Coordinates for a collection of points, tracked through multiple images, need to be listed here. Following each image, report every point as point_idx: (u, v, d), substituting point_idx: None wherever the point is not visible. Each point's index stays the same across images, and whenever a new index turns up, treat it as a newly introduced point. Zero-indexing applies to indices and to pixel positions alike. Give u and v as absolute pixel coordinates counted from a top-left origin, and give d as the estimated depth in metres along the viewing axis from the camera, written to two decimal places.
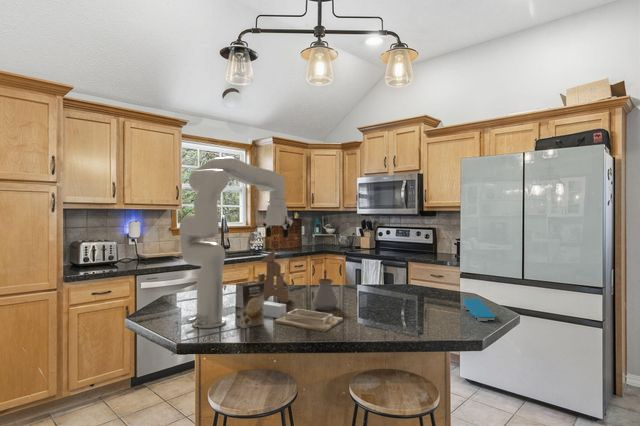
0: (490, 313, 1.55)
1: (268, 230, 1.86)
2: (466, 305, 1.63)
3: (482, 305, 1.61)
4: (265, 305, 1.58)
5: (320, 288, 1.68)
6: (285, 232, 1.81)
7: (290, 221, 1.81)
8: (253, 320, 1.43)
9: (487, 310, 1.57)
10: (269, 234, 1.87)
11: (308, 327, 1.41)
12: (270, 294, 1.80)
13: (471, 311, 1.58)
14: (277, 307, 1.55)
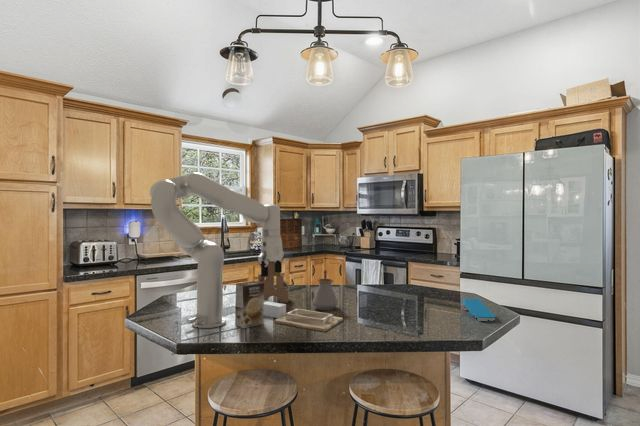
0: (490, 313, 1.55)
1: None
2: (466, 305, 1.63)
3: (482, 305, 1.61)
4: (265, 305, 1.58)
5: (320, 288, 1.68)
6: None
7: (283, 253, 1.66)
8: (253, 320, 1.43)
9: (487, 310, 1.57)
10: None
11: (308, 327, 1.41)
12: (270, 294, 1.80)
13: (471, 311, 1.58)
14: (277, 307, 1.55)
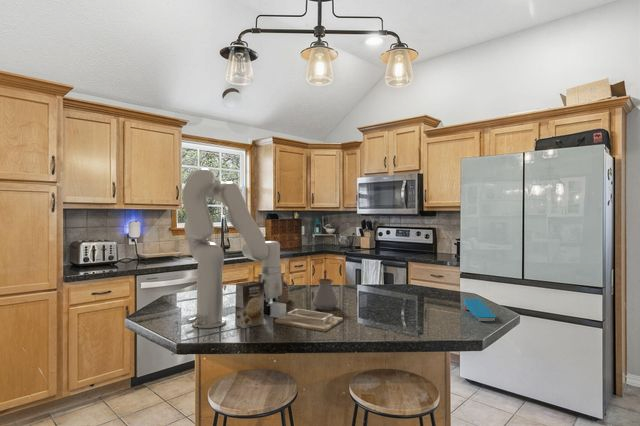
0: (491, 313, 1.54)
1: None
2: (467, 305, 1.63)
3: (483, 305, 1.60)
4: None
5: (320, 288, 1.68)
6: None
7: None
8: (253, 320, 1.43)
9: (488, 310, 1.56)
10: None
11: (308, 327, 1.41)
12: None
13: (472, 311, 1.58)
14: (277, 306, 1.55)
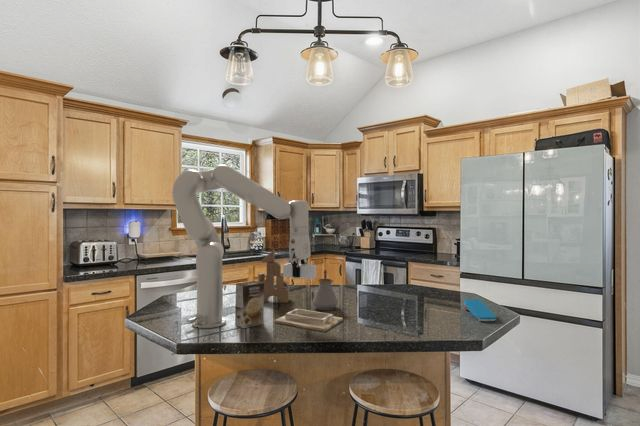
0: (491, 314, 1.54)
1: None
2: (467, 305, 1.62)
3: (483, 305, 1.60)
4: None
5: (320, 288, 1.68)
6: None
7: None
8: (253, 320, 1.43)
9: (488, 311, 1.56)
10: None
11: (308, 327, 1.41)
12: (270, 294, 1.80)
13: (472, 311, 1.58)
14: (307, 267, 1.48)
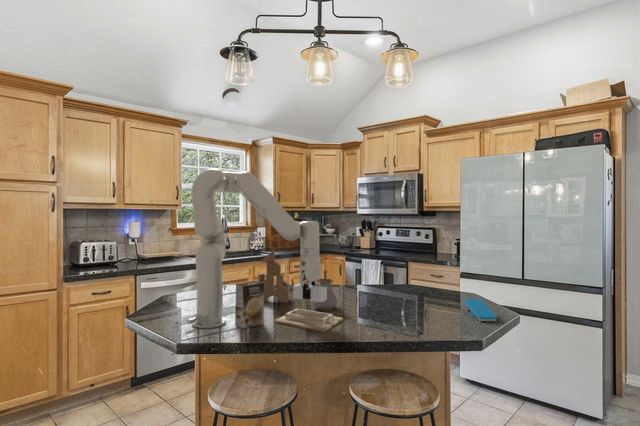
0: (492, 314, 1.54)
1: None
2: (468, 305, 1.62)
3: (484, 306, 1.60)
4: None
5: None
6: None
7: None
8: (253, 320, 1.43)
9: (489, 311, 1.56)
10: None
11: (308, 327, 1.41)
12: (270, 294, 1.80)
13: (473, 311, 1.58)
14: (318, 290, 1.45)
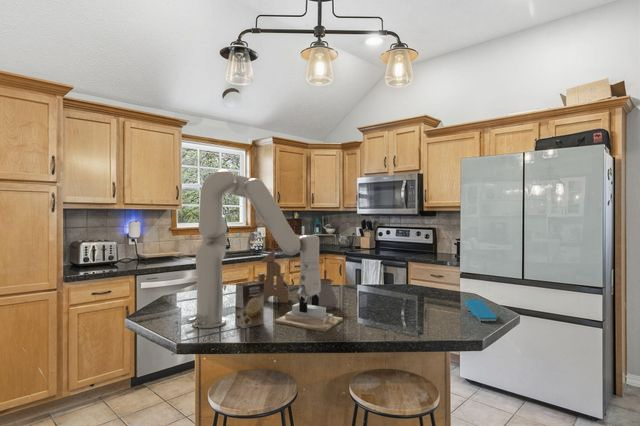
0: (492, 314, 1.54)
1: None
2: (468, 306, 1.62)
3: (484, 306, 1.60)
4: None
5: None
6: None
7: None
8: (253, 320, 1.43)
9: (489, 311, 1.56)
10: None
11: (308, 327, 1.41)
12: (270, 294, 1.80)
13: (473, 312, 1.57)
14: (317, 310, 1.46)
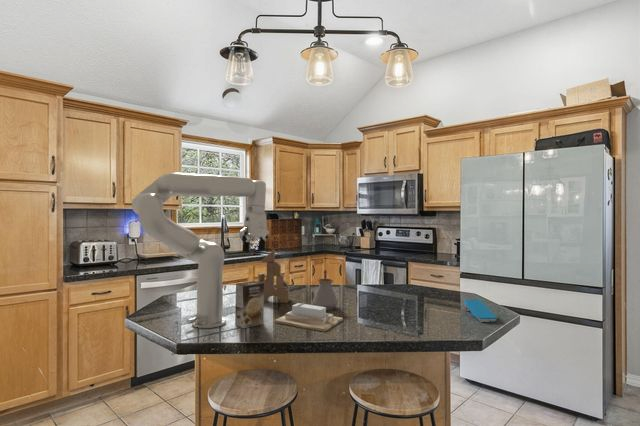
0: (492, 314, 1.53)
1: None
2: (467, 306, 1.61)
3: (484, 306, 1.59)
4: (304, 308, 1.49)
5: (320, 288, 1.68)
6: None
7: (268, 232, 1.64)
8: (253, 320, 1.43)
9: (489, 311, 1.55)
10: None
11: (308, 327, 1.41)
12: (270, 294, 1.80)
13: (473, 312, 1.57)
14: (317, 310, 1.46)
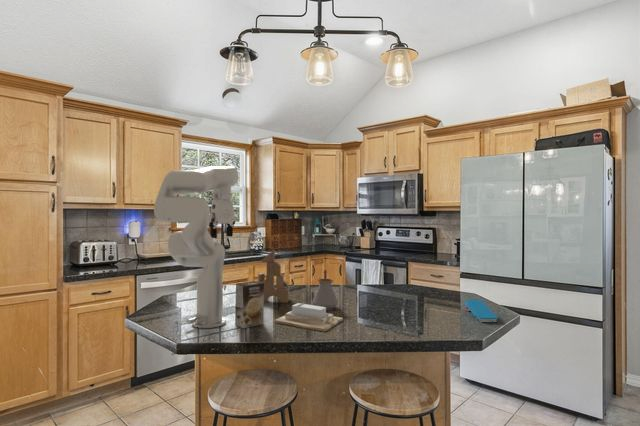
0: (492, 314, 1.53)
1: None
2: (468, 306, 1.61)
3: (484, 306, 1.59)
4: (304, 308, 1.49)
5: (320, 288, 1.68)
6: None
7: (235, 218, 1.69)
8: (253, 320, 1.43)
9: (489, 311, 1.55)
10: None
11: (308, 327, 1.41)
12: (270, 294, 1.80)
13: (473, 312, 1.57)
14: (317, 310, 1.46)
